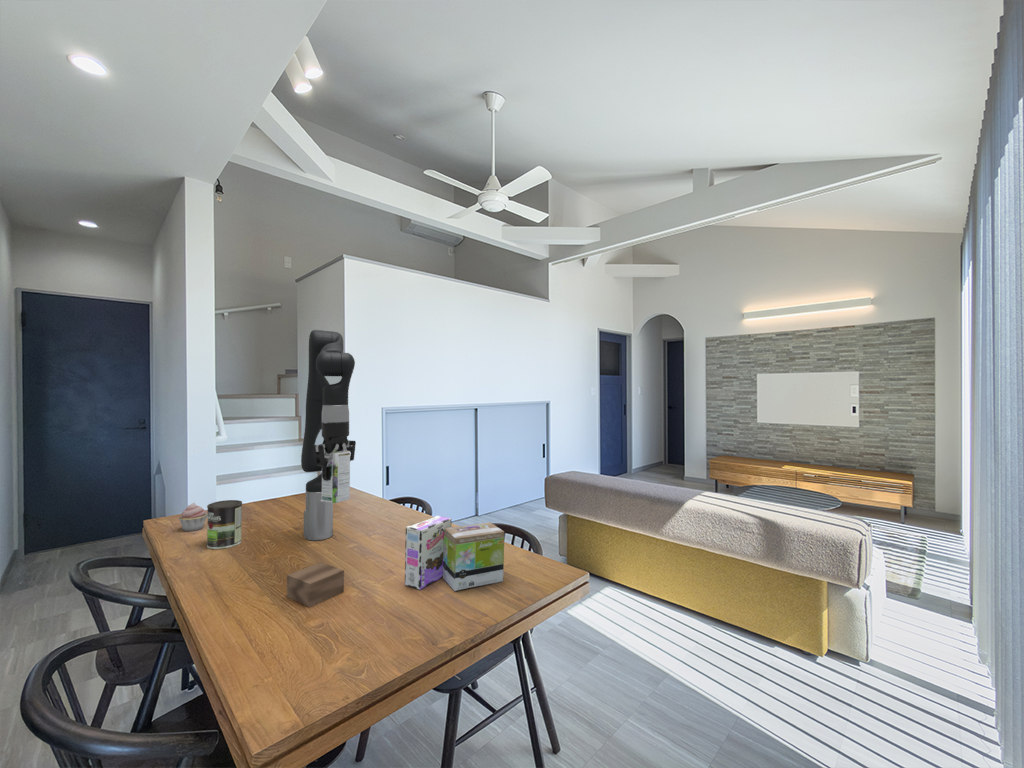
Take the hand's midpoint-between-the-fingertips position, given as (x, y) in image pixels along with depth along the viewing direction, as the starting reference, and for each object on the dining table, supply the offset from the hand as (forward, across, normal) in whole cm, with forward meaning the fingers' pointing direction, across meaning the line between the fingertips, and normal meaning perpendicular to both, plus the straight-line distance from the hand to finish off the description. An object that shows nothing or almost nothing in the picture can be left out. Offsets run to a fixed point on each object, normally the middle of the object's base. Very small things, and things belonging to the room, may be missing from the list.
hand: (335, 478), depth 131 cm
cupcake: (+27, -9, -82) cm, 87 cm away
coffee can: (+27, -4, -55) cm, 62 cm away
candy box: (+29, -10, +25) cm, 40 cm away
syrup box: (+7, 0, 0) cm, 7 cm away
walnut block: (+29, +10, +4) cm, 31 cm away
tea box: (+29, -15, +37) cm, 50 cm away
